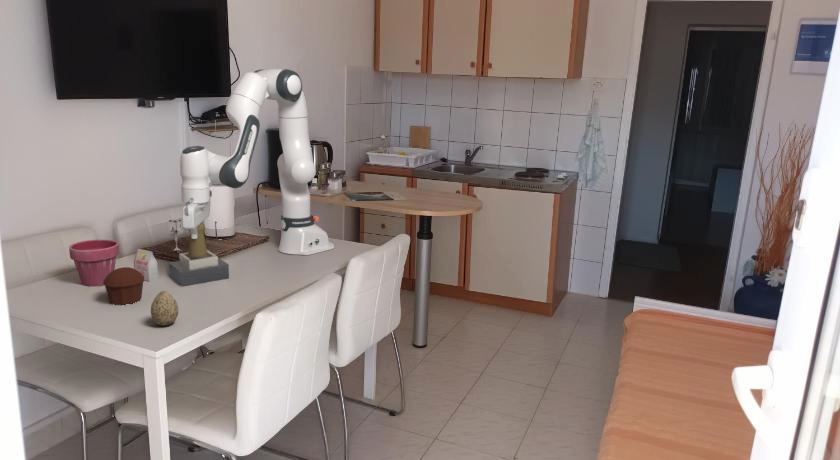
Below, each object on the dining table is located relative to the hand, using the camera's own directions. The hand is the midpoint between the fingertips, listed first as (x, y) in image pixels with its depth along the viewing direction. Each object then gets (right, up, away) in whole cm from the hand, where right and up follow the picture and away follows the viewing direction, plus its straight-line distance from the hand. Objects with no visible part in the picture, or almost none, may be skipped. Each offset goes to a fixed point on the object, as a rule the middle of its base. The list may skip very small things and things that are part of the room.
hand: (197, 236), depth 208 cm
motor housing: (-1, -14, +4) cm, 15 cm away
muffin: (-15, -20, -19) cm, 31 cm away
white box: (-17, -15, 0) cm, 23 cm away
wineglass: (-20, -6, +32) cm, 38 cm away
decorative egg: (+4, -25, -35) cm, 43 cm away
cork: (0, -6, +1) cm, 7 cm away
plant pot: (-31, -15, -5) cm, 35 cm away
